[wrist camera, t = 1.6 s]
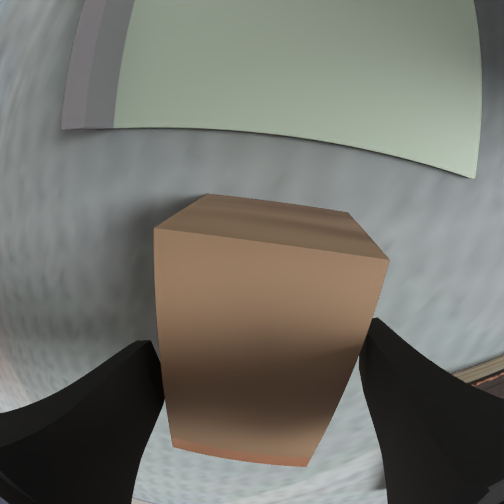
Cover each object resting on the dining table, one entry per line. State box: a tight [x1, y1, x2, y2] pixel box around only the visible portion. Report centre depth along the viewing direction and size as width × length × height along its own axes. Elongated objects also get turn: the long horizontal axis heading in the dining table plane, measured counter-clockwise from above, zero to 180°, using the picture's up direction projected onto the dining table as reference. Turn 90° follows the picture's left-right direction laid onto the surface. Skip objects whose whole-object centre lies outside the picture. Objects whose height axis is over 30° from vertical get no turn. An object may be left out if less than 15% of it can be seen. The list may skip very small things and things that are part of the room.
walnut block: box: [154, 194, 390, 467], centre depth 10 cm, size 9×5×5 cm, turn 174°
